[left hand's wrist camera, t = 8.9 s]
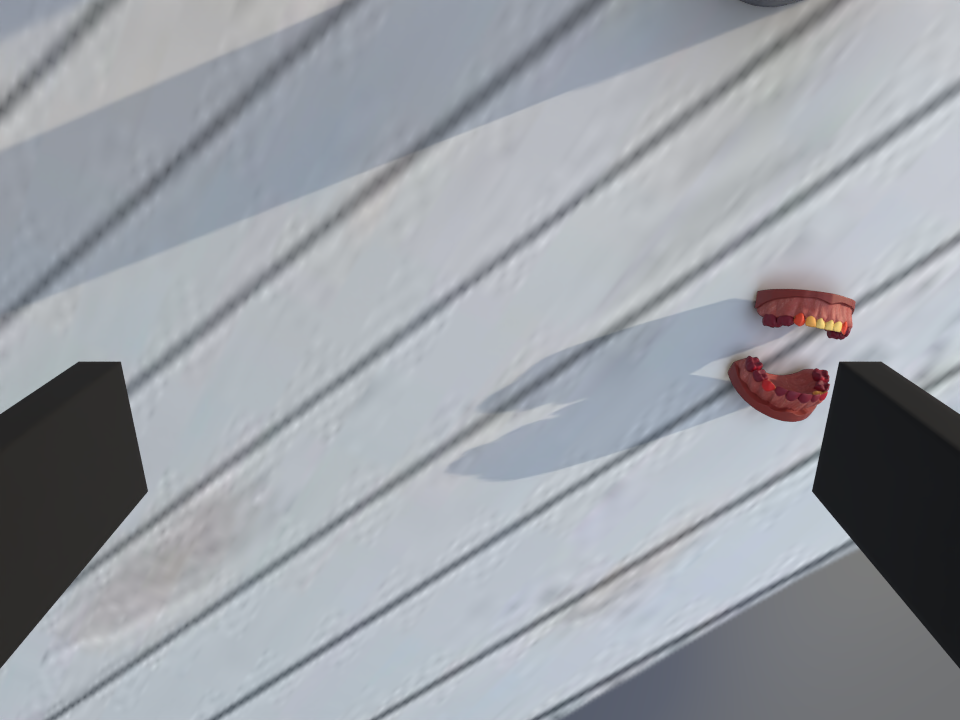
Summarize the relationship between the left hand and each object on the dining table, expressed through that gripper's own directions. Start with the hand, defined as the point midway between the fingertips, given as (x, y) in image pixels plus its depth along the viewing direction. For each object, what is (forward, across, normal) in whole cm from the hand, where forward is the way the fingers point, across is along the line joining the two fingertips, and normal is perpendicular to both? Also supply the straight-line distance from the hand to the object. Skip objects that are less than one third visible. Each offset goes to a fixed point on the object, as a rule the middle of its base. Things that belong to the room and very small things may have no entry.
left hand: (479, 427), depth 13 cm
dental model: (+29, +19, -8) cm, 35 cm away
